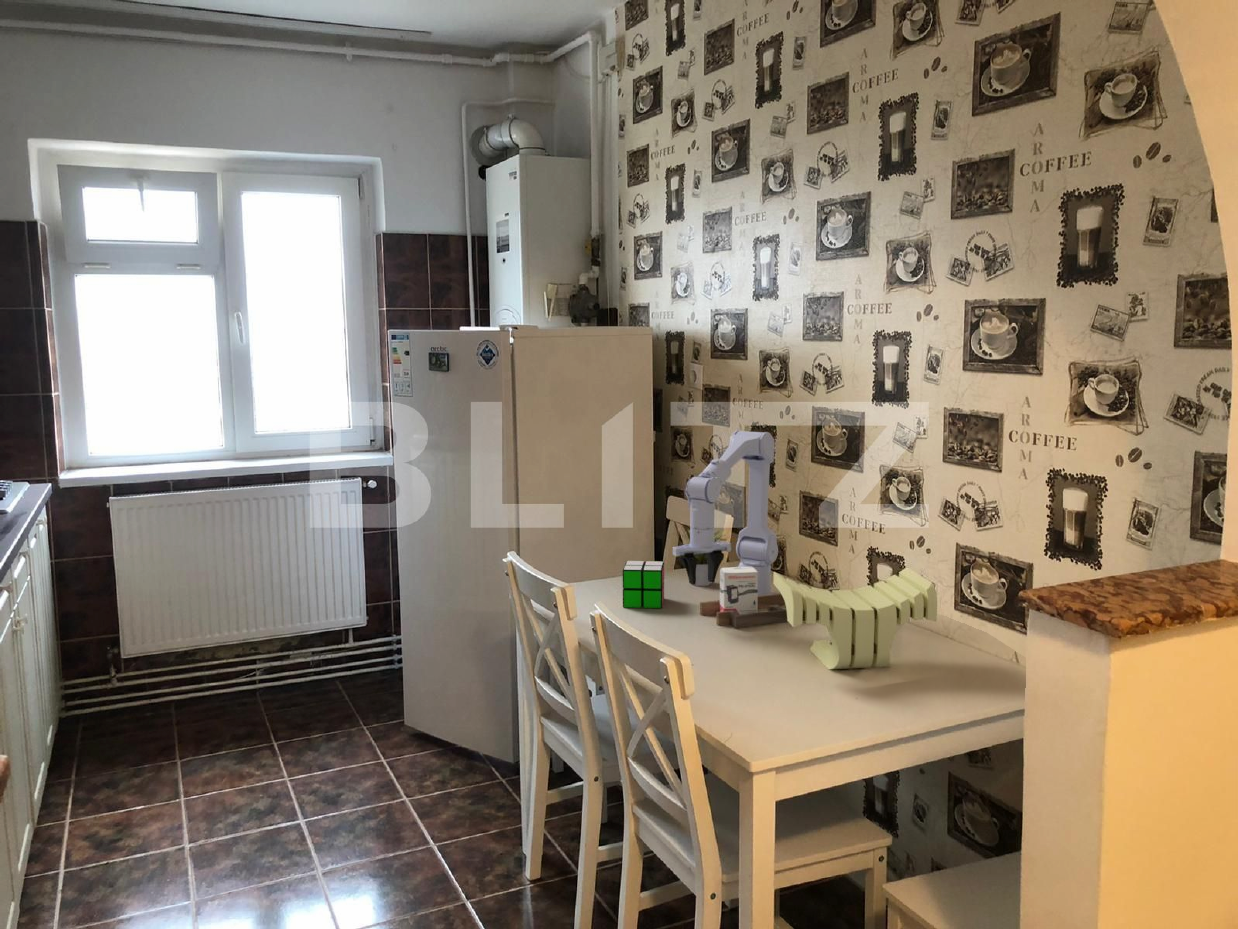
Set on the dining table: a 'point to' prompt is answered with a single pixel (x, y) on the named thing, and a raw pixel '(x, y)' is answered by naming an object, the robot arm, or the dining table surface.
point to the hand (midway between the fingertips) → (701, 582)
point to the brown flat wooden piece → (752, 619)
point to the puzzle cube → (643, 584)
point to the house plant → (703, 566)
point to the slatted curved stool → (859, 616)
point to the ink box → (739, 590)
